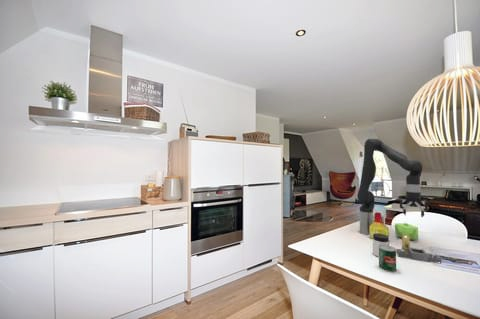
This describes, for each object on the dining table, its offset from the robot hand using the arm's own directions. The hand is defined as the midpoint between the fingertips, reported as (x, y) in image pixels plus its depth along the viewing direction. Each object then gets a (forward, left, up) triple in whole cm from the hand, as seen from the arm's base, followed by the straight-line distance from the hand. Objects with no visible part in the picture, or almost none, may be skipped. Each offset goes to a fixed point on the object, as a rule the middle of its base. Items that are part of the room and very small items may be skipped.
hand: (413, 215), depth 140 cm
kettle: (0, +21, -22) cm, 30 cm away
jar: (-20, -19, -22) cm, 35 cm away
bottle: (-18, +10, -22) cm, 30 cm away
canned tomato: (-19, -36, -22) cm, 46 cm away
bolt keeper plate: (-1, -14, -22) cm, 26 cm away
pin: (-5, -6, -22) cm, 23 cm away
